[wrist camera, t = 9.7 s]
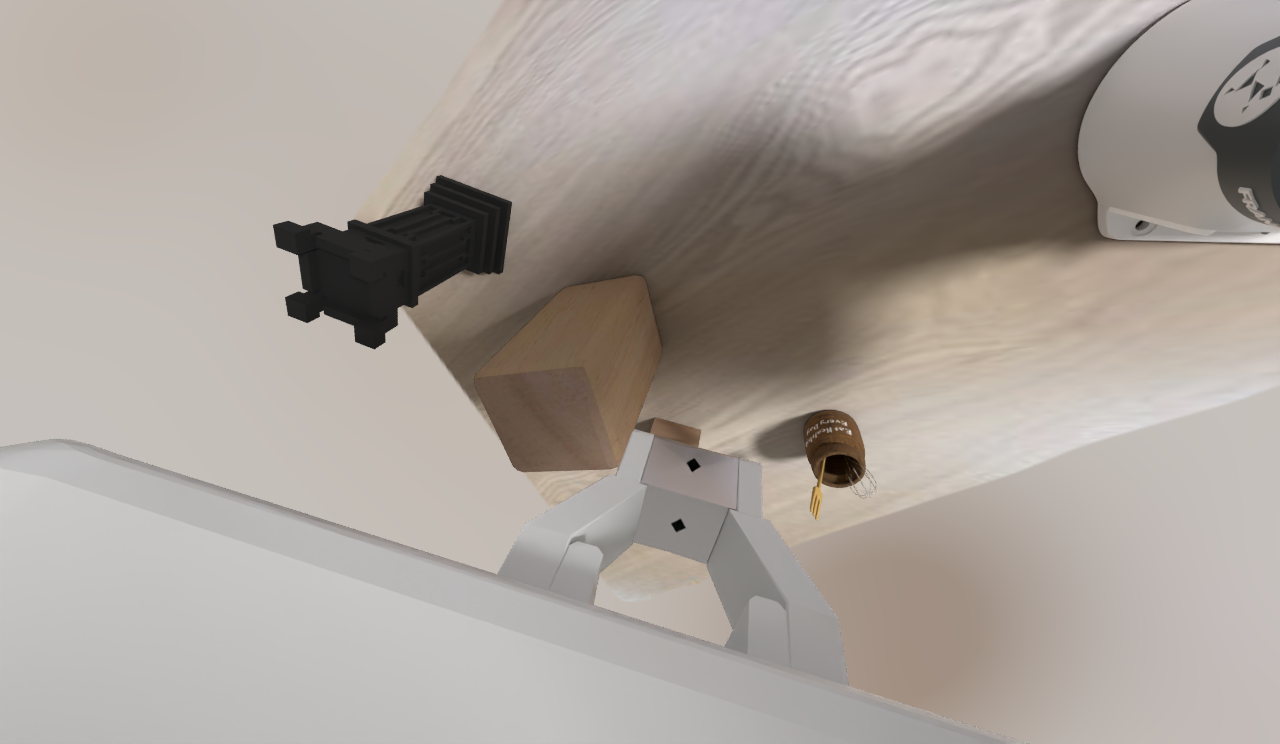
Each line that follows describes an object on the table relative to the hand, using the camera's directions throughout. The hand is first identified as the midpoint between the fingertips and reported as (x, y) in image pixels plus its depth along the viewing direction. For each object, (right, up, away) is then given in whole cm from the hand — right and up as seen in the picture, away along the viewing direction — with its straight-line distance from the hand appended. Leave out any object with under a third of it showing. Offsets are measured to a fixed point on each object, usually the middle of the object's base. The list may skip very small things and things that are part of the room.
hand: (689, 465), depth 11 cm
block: (-4, +8, +41) cm, 42 cm away
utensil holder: (+21, -4, +42) cm, 47 cm away
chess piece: (-19, +18, +39) cm, 47 cm away
